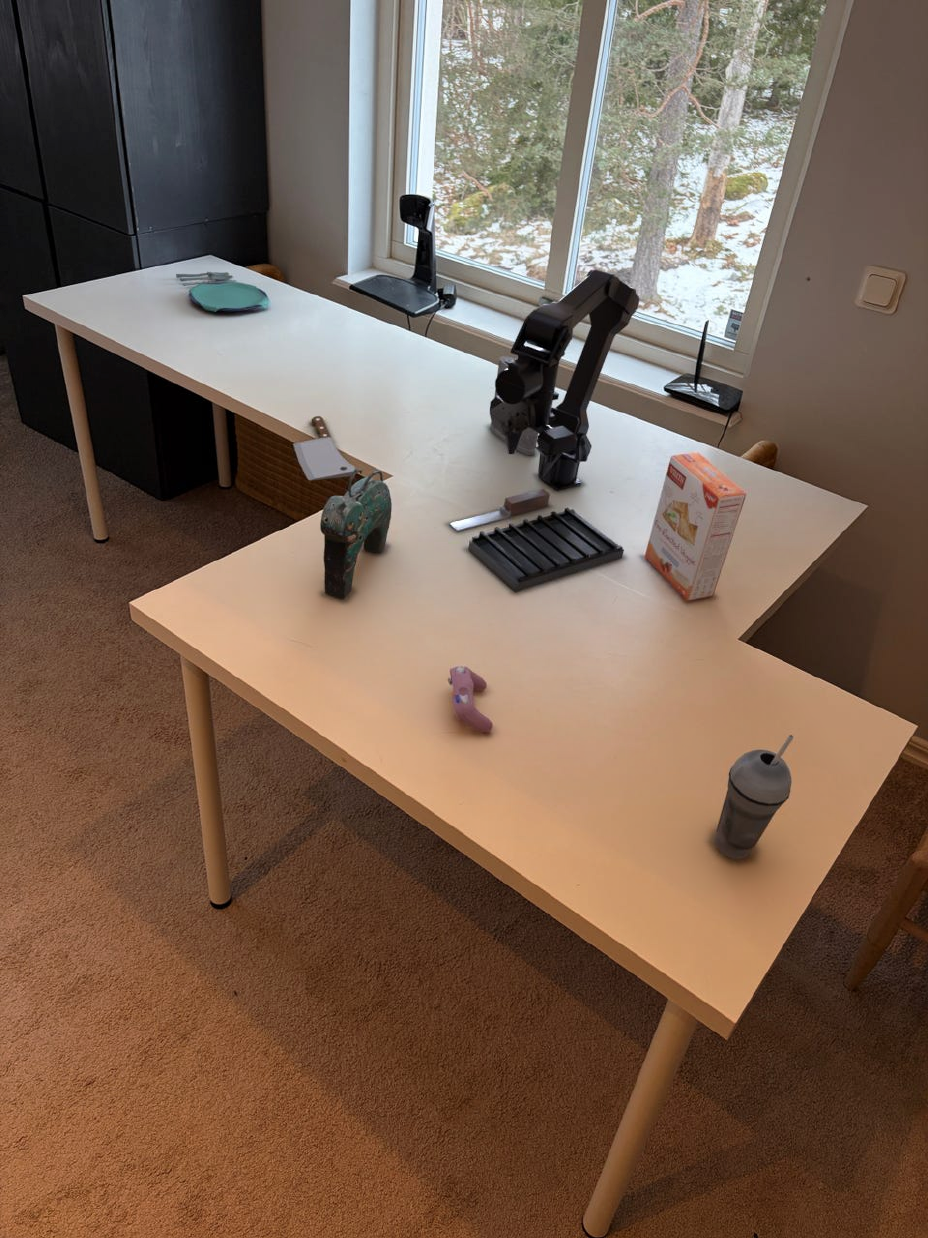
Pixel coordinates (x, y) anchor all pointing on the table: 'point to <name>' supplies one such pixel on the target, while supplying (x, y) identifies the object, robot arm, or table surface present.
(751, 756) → the beverage cup
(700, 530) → the cracker box
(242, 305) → the cutlery set
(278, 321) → the table surface
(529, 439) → the flask
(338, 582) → the elephant figurine
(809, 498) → the table surface
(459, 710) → the video game controller
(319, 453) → the kitchen cleaver
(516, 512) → the knife
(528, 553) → the dish rack
